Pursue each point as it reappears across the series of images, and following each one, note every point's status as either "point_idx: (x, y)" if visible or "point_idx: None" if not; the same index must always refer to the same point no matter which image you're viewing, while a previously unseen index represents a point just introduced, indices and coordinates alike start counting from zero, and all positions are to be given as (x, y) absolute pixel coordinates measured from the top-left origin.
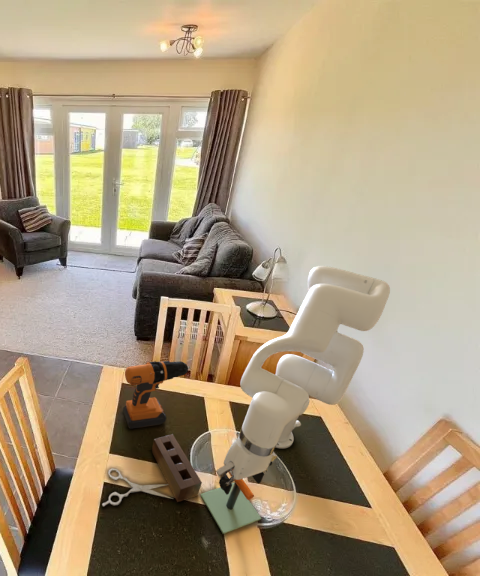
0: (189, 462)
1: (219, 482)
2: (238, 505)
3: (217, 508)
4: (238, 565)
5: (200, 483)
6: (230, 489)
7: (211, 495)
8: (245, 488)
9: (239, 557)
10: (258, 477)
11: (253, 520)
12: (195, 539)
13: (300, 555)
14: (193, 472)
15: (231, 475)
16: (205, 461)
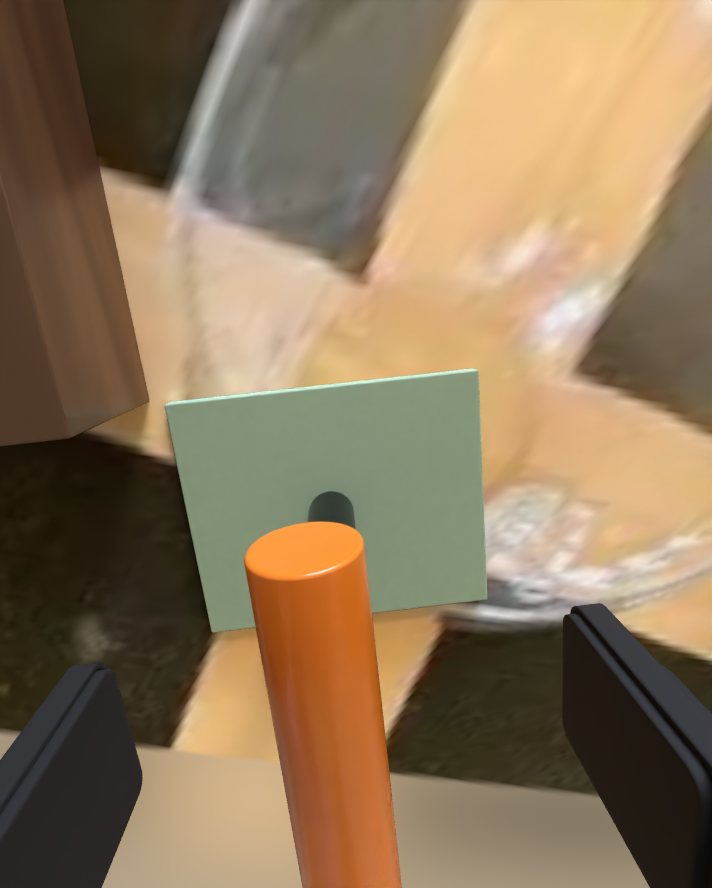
0: (1, 194)
1: (66, 681)
2: (393, 516)
3: (240, 512)
4: (227, 743)
5: (58, 438)
6: (106, 874)
7: (239, 428)
8: (326, 885)
9: (250, 718)
10: (613, 798)
11: (431, 603)
12: (39, 623)
13: (559, 747)
14: (13, 322)
15: (262, 663)
16: (335, 145)
